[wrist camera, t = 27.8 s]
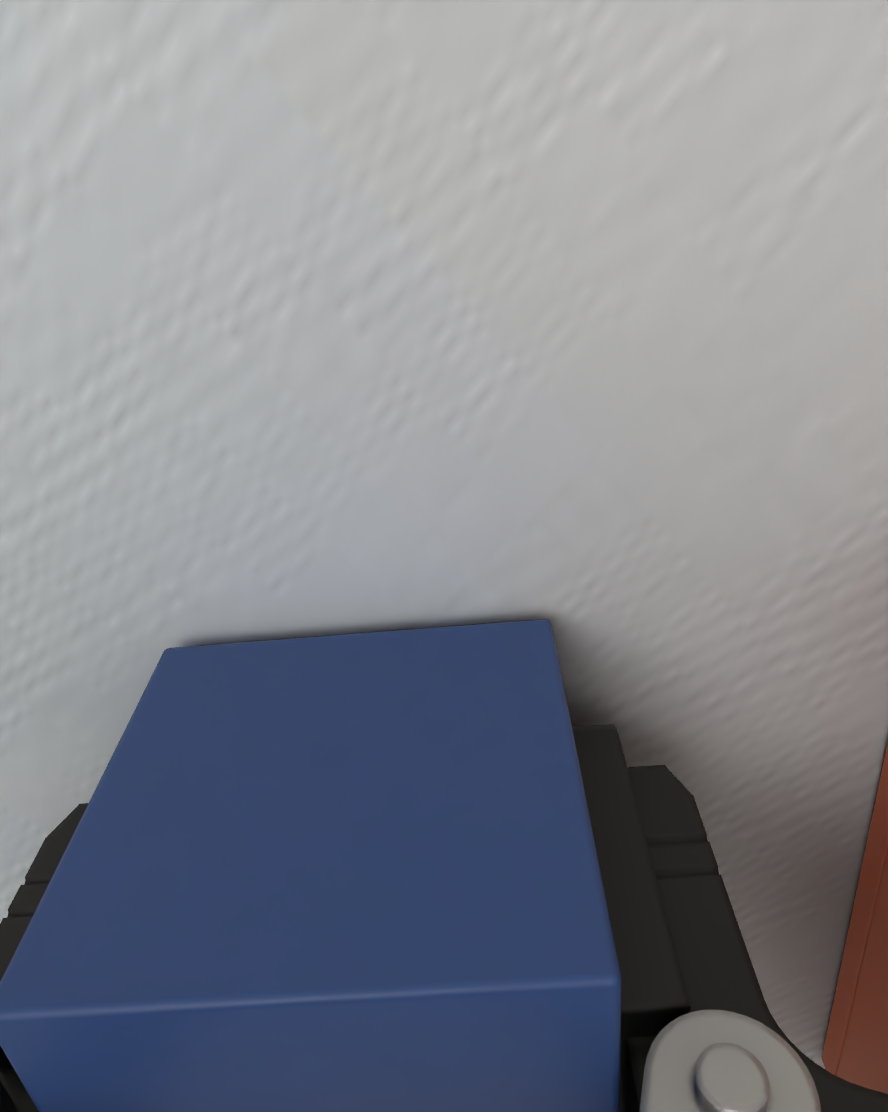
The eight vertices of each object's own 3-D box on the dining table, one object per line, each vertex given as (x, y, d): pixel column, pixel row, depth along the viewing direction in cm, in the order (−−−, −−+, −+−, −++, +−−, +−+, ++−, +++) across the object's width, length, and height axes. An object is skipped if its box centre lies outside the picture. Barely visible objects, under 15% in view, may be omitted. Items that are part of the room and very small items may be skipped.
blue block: (243, 904, 12) (146, 1302, 8) (163, 646, 10) (-24, 1017, 6) (561, 885, 12) (618, 1284, 8) (551, 615, 10) (624, 980, 6)
